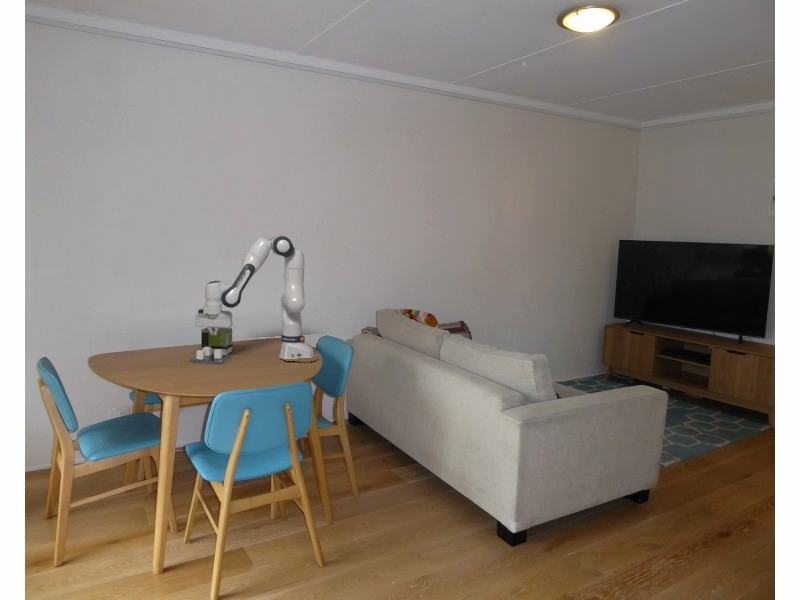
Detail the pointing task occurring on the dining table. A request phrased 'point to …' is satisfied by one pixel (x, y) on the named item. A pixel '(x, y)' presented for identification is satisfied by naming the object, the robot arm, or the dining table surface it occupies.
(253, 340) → the dining table surface
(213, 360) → the panel
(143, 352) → the dining table surface
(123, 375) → the dining table surface
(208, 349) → the block
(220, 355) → the block
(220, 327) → the robot arm
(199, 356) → the breaker
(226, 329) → the tea box
